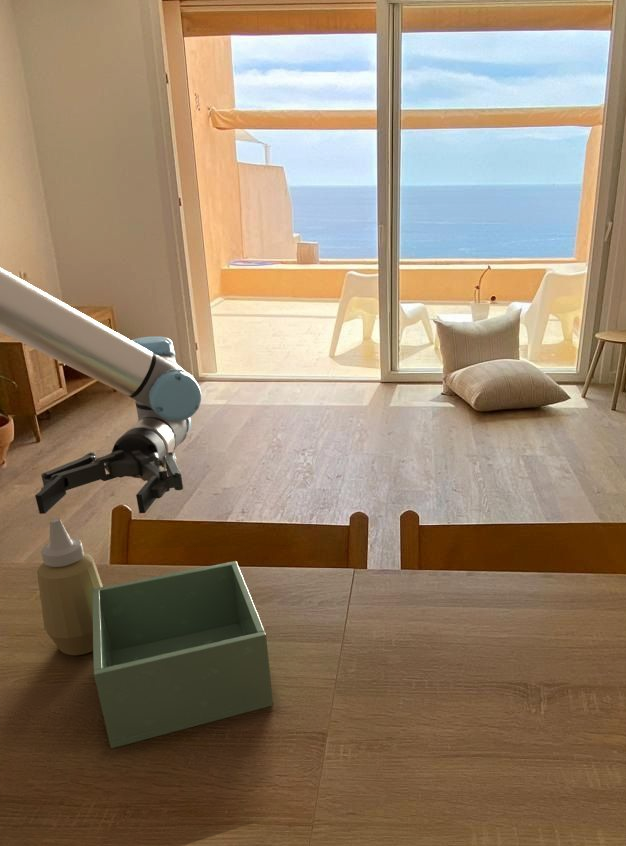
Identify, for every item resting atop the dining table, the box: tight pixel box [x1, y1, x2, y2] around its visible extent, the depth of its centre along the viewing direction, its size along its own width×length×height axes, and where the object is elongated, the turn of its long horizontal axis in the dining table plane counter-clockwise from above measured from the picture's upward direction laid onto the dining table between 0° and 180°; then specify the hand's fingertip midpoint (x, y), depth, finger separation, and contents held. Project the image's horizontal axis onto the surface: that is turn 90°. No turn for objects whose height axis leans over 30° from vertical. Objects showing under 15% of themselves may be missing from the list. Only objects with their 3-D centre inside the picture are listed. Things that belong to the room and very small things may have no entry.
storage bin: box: [92, 560, 274, 749], centre depth 82 cm, size 18×18×10 cm
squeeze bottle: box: [36, 517, 104, 656], centre depth 87 cm, size 8×8×18 cm
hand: (90, 504), depth 93 cm, fingers open, 13 cm apart
